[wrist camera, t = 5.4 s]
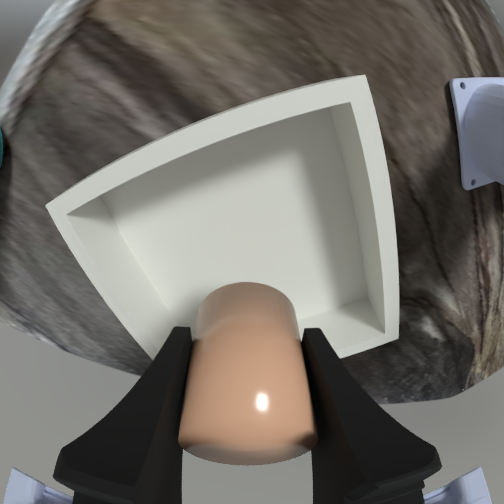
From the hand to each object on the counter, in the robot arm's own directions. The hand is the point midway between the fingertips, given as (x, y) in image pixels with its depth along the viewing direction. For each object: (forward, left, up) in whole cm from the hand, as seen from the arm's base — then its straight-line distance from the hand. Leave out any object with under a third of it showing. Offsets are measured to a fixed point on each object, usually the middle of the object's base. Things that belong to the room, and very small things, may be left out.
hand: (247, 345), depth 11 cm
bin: (0, 0, -8) cm, 8 cm away
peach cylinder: (0, 0, -2) cm, 2 cm away
